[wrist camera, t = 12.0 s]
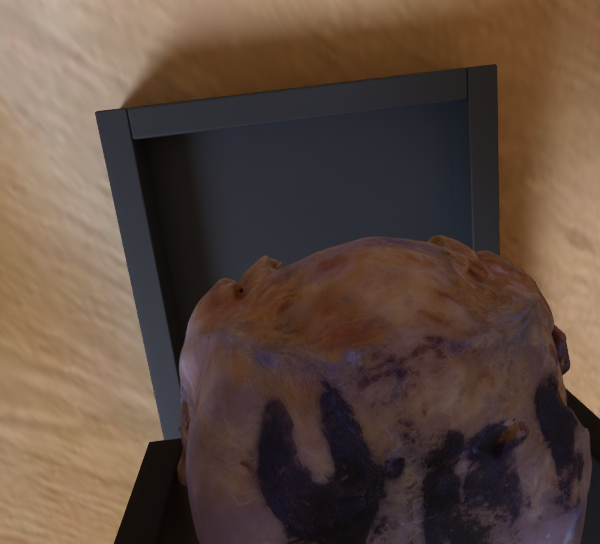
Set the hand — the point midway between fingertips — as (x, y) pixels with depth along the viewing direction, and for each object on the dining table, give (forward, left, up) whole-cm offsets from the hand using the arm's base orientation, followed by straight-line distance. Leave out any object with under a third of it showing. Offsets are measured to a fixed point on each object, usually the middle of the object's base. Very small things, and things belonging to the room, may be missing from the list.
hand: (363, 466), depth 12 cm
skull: (0, 0, 0) cm, 0 cm away
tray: (0, 0, -10) cm, 10 cm away
